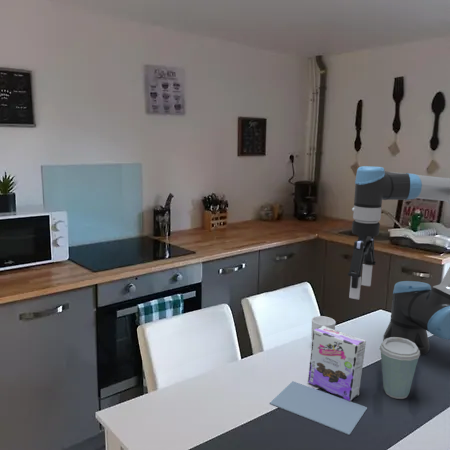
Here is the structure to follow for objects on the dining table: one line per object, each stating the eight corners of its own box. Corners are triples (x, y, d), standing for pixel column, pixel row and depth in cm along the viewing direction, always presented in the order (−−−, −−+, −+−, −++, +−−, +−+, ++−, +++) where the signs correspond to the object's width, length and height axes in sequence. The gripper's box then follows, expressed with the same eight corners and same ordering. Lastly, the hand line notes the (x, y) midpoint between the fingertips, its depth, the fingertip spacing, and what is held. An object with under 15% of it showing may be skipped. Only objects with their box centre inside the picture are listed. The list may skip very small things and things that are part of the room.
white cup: (315, 340, 163) (317, 314, 161) (336, 347, 158) (339, 319, 156) (306, 348, 156) (307, 321, 154) (327, 355, 152) (329, 327, 150)
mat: (292, 382, 135) (292, 381, 135) (367, 408, 123) (367, 407, 122) (269, 403, 123) (269, 402, 123) (349, 435, 111) (349, 434, 111)
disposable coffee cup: (417, 406, 124) (423, 355, 121) (375, 399, 127) (380, 349, 124) (413, 387, 134) (419, 339, 131) (374, 380, 137) (379, 333, 134)
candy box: (306, 382, 134) (312, 329, 131) (317, 376, 138) (323, 324, 136) (350, 402, 125) (356, 344, 122) (359, 394, 129) (366, 339, 127)
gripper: (363, 213, 143) (358, 278, 148) (340, 226, 122) (335, 301, 126) (388, 216, 140) (382, 282, 144) (369, 229, 119) (362, 307, 123)
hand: (360, 291), depth 135 cm, fingers open, 13 cm apart
